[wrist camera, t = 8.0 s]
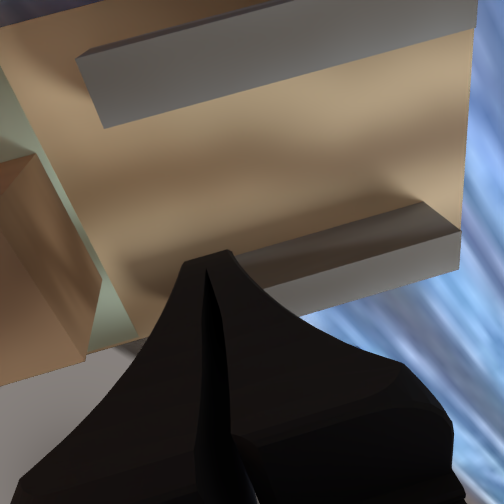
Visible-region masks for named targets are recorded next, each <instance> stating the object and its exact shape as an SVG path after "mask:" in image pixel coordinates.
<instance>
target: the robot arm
mask: <svg viewBox="0 0 504 504" xmlns="http://www.w3.org/2000/svg"><path fill="white" fill-rule="evenodd" d="M453 442H454V430H453V423H452V421H451V420H450V418H449V417H448V415H447V413H446V411H445V410H444V408H443V407H442V405H441V404H440V403H439V401H438V400H437V399H436V398H435V396H434V395H433V394H432V393H431V392H430V391H429V390H428V388H427V387H426V386H425V385H424V384H423V383H422V382H421V381H420V380H419V379H418V378H417V377H416V375H415V374H414V373H413V372H412V371H411V370H410V369H409V368H408V367H407V366H406V365H405V364H403V363H401V362H398V361H395V360H392V359H389V358H386V357H382V356H379V355H376V354H373V353H370V352H367V351H364V350H362V349H359V348H357V347H354V346H352V345H349V344H347V343H345V342H343V341H341V340H339V339H337V338H335V337H333V336H331V335H329V334H327V333H325V332H323V331H321V330H319V329H317V328H315V327H314V326H312V325H310V324H309V323H307V322H306V321H304V320H302V319H301V318H299V317H298V316H296V315H295V314H293V313H292V312H290V311H289V310H288V309H286V308H285V307H284V306H282V305H281V304H280V303H278V302H277V301H276V300H275V299H274V298H272V297H271V296H270V295H269V294H268V293H266V292H265V291H264V290H263V289H262V288H261V287H260V286H259V285H258V284H257V283H256V282H255V281H254V280H253V279H252V278H251V277H250V276H249V275H248V274H247V273H246V271H245V270H244V269H243V268H242V266H241V265H240V264H239V263H238V261H237V260H236V258H235V256H234V255H233V252H232V251H230V250H228V249H226V250H223V251H219V252H216V253H212V254H209V255H205V256H202V257H198V258H195V259H191V260H188V261H184V263H183V264H182V266H181V268H180V271H179V274H178V277H177V279H176V282H175V284H174V287H173V289H172V292H171V294H170V296H169V298H168V300H167V303H166V305H165V307H164V309H163V311H162V313H161V315H160V317H159V319H158V321H157V323H156V324H155V326H154V328H153V330H152V332H151V334H150V336H149V337H148V339H147V341H146V342H145V344H144V345H143V347H142V349H141V350H140V352H139V353H138V355H137V356H136V358H135V359H134V361H133V362H132V364H131V365H130V366H129V368H128V369H127V370H126V372H125V373H124V374H123V375H122V376H121V378H120V379H119V380H118V381H117V382H116V384H115V385H114V386H113V387H112V389H111V390H110V391H109V392H108V394H107V395H106V396H105V397H104V398H103V400H102V401H101V402H100V403H99V404H98V405H97V406H96V407H95V408H94V409H93V410H92V411H91V413H90V414H89V415H88V416H87V417H86V418H85V419H84V420H83V421H82V422H81V423H80V424H79V425H78V426H77V427H76V428H75V429H74V430H73V431H72V432H71V433H70V434H69V435H68V436H67V437H66V438H65V439H64V440H63V441H62V442H61V443H59V445H57V446H56V447H55V448H54V449H53V450H52V451H51V452H49V453H48V454H47V455H46V456H45V457H44V458H43V459H42V460H41V461H40V462H38V463H37V464H36V465H35V466H34V467H33V468H32V469H31V470H30V471H28V472H27V473H26V474H25V475H24V476H23V477H21V478H20V479H19V482H18V485H17V487H16V490H15V493H14V495H13V498H12V501H11V503H10V504H257V499H256V496H257V498H258V500H259V503H260V504H467V503H466V502H465V500H464V498H465V497H466V493H465V490H464V488H463V486H462V484H461V483H460V481H459V480H458V478H457V476H456V475H455V473H454V472H453V470H452V456H453ZM255 493H256V495H255Z"/></svg>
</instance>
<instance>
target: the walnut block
mask: <svg viewBox="0 0 504 504" xmlns="http://www.w3.org/2000/svg"><path fill="white" fill-rule="evenodd" d="M102 280H103V279H102V278H101V276H100V274H99V272H98V270H97V268H96V266H95V264H94V262H93V260H92V258H91V257H90V255H89V253H88V251H87V249H86V247H85V245H84V243H83V241H82V239H81V238H80V236H79V234H78V232H77V230H76V228H75V226H74V224H73V222H72V220H71V218H70V217H69V215H68V213H67V211H66V209H65V207H64V205H63V203H62V201H61V199H60V197H59V196H58V194H57V192H56V190H55V188H54V186H53V184H52V182H51V180H50V178H49V176H48V175H47V173H46V171H45V169H44V167H43V165H42V163H41V161H40V159H39V157H38V156H37V154H36V153H35V154H31V155H28V156H24V157H20V158H17V159H13V160H9V161H6V162H2V163H0V386H3V385H7V384H10V383H13V382H17V381H20V380H23V379H27V378H30V377H34V376H37V375H40V374H44V373H47V372H51V371H54V370H57V369H60V368H64V367H68V366H71V365H74V364H78V363H81V362H85V359H86V354H87V350H88V345H89V340H90V336H91V331H92V326H93V322H94V317H95V312H96V308H97V303H98V298H99V294H100V289H101V284H102Z"/></svg>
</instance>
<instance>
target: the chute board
mask: <svg viewBox="0 0 504 504" xmlns="http://www.w3.org/2000/svg"><path fill="white" fill-rule="evenodd" d="M477 6H478V0H104V1H100V2H96V3H92V4H88V5H84V6H81V7H77V8H73V9H69V10H65V11H61V12H58V13H54V14H50V15H46V16H42V17H38V18H35V19H31V20H27V21H23V22H19V23H16V24H12V25H8V26H4V27H0V163H2V162H6V161H9V160H13V159H17V158H20V157H24V156H28V155H31V154H35V153H36V154H37V156H38V157H39V159H40V161H41V163H42V165H43V167H44V169H45V171H46V173H47V175H48V176H49V178H50V180H51V182H52V184H53V186H54V188H55V190H56V192H57V194H58V196H59V197H60V199H61V201H62V203H63V205H64V207H65V209H66V211H67V213H68V215H69V217H70V218H71V220H72V222H73V224H74V226H75V228H76V230H77V232H78V234H79V236H80V238H81V239H82V241H83V243H84V245H85V247H86V249H87V251H88V253H89V255H90V257H91V258H92V260H93V262H94V264H95V266H96V268H97V270H98V272H99V274H100V276H101V278H102V279H103V280H102V284H101V289H100V294H99V298H98V303H97V308H96V312H95V317H94V322H93V326H92V331H91V336H90V340H89V345H88V350H87V354H91V353H94V352H98V351H101V350H105V349H108V348H112V347H115V346H118V345H122V344H125V343H129V342H132V341H135V340H139V339H142V338H146V337H149V336H150V334H151V332H152V330H153V328H154V326H155V324H156V323H157V321H158V319H159V317H160V315H161V313H162V311H163V309H164V307H165V305H166V303H167V300H168V298H169V296H170V294H171V292H172V289H173V287H174V284H175V282H176V279H177V277H178V274H179V271H180V268H181V266H182V264H183V263H184V261H188V260H191V259H195V258H198V257H202V256H205V255H209V254H212V253H216V252H219V251H223V250H226V249H228V250H230V251H232V252H233V255H234V256H235V258H236V260H237V261H238V263H239V264H240V265H241V266H242V268H243V269H244V270H245V271H246V273H247V274H248V275H249V276H250V277H251V278H252V279H253V280H254V281H255V282H256V283H257V284H258V285H259V286H260V287H261V288H262V289H263V290H264V291H265V292H266V293H268V294H269V295H270V296H271V297H272V298H274V299H275V300H276V301H277V302H278V303H280V304H281V305H282V306H284V307H285V308H286V309H288V310H289V311H290V312H292V313H293V314H295V315H296V316H298V317H300V316H303V315H307V314H310V313H313V312H317V311H320V310H324V309H327V308H330V307H334V306H337V305H340V304H344V303H347V302H351V301H354V300H357V299H361V298H364V297H367V296H371V295H374V294H378V293H381V292H384V291H388V290H391V289H394V288H398V287H401V286H405V285H408V284H411V283H415V282H418V281H421V280H425V279H428V278H432V277H435V276H438V275H442V274H445V273H448V272H452V271H455V270H459V262H460V248H461V234H462V231H461V230H460V228H461V213H462V199H463V184H464V169H465V155H466V140H467V125H468V111H469V96H470V81H471V67H472V52H473V37H474V28H476V20H477ZM87 354H86V355H87Z"/></svg>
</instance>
